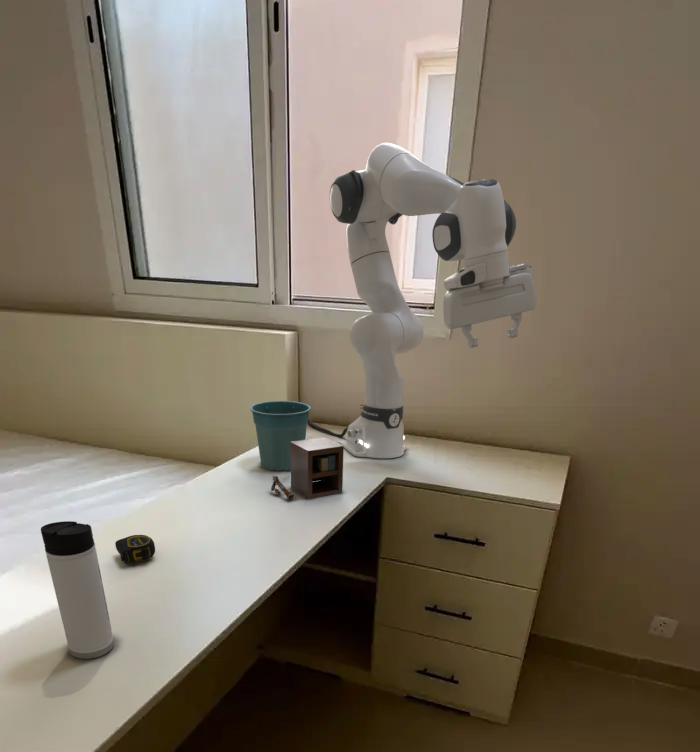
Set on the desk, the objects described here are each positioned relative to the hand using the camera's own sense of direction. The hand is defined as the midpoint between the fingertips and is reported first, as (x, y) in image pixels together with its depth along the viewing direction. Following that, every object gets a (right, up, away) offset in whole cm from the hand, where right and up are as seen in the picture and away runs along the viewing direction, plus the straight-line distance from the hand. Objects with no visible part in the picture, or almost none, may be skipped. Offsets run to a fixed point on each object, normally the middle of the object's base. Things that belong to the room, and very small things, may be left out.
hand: (493, 342), depth 132 cm
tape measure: (-73, -49, -15) cm, 89 cm away
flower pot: (-51, -18, +40) cm, 67 cm away
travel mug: (-70, -64, -41) cm, 104 cm away
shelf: (-40, -28, +22) cm, 54 cm away
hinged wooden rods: (-48, -31, +18) cm, 60 cm away
